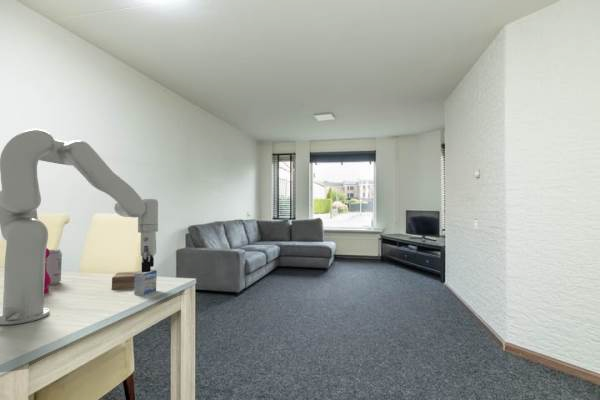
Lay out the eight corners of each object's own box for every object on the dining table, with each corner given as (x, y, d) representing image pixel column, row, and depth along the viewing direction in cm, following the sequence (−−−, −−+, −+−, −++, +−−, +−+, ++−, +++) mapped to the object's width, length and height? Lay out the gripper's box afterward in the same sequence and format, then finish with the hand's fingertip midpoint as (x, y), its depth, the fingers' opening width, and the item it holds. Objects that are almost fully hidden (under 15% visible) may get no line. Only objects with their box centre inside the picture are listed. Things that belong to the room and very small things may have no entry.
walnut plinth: (138, 287, 131) (138, 276, 131) (111, 289, 127) (112, 277, 127) (141, 282, 140) (142, 271, 140) (117, 283, 137) (117, 272, 137)
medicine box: (143, 295, 120) (144, 274, 120) (133, 294, 121) (134, 273, 121) (156, 290, 128) (157, 270, 128) (147, 289, 129) (148, 269, 129)
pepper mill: (49, 289, 125) (51, 241, 126) (51, 293, 120) (53, 243, 121) (26, 292, 120) (28, 242, 121) (26, 296, 115) (29, 244, 116)
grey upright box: (57, 284, 132) (59, 250, 133) (40, 285, 130) (42, 251, 131) (62, 281, 138) (64, 249, 138) (46, 282, 136) (48, 249, 136)
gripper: (155, 230, 118) (155, 273, 118) (160, 226, 134) (159, 264, 134) (134, 230, 116) (133, 274, 116) (141, 226, 132) (141, 265, 132)
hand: (147, 269), depth 125 cm, fingers open, 9 cm apart
